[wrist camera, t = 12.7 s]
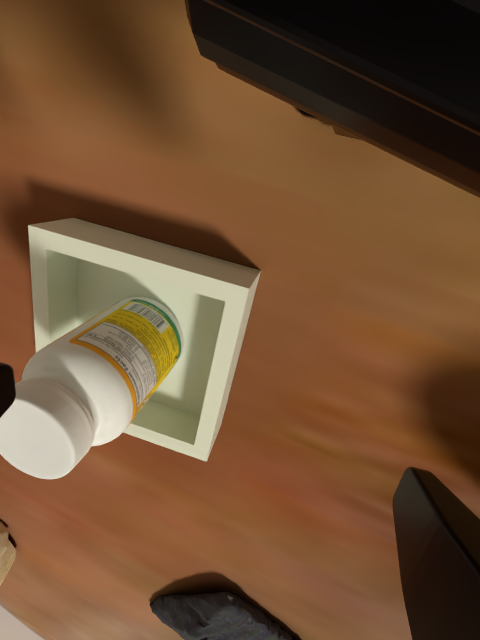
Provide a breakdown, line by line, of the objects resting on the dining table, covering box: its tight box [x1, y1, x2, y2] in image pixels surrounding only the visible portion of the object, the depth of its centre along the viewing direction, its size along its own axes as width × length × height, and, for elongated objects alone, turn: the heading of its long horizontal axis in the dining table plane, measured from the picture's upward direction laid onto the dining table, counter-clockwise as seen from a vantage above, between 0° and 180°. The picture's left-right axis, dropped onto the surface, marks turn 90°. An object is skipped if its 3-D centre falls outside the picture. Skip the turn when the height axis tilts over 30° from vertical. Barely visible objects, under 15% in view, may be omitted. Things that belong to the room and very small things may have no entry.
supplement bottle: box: [0, 297, 184, 479], centre depth 17 cm, size 5×5×10 cm
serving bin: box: [28, 218, 261, 462], centre depth 21 cm, size 12×12×4 cm
